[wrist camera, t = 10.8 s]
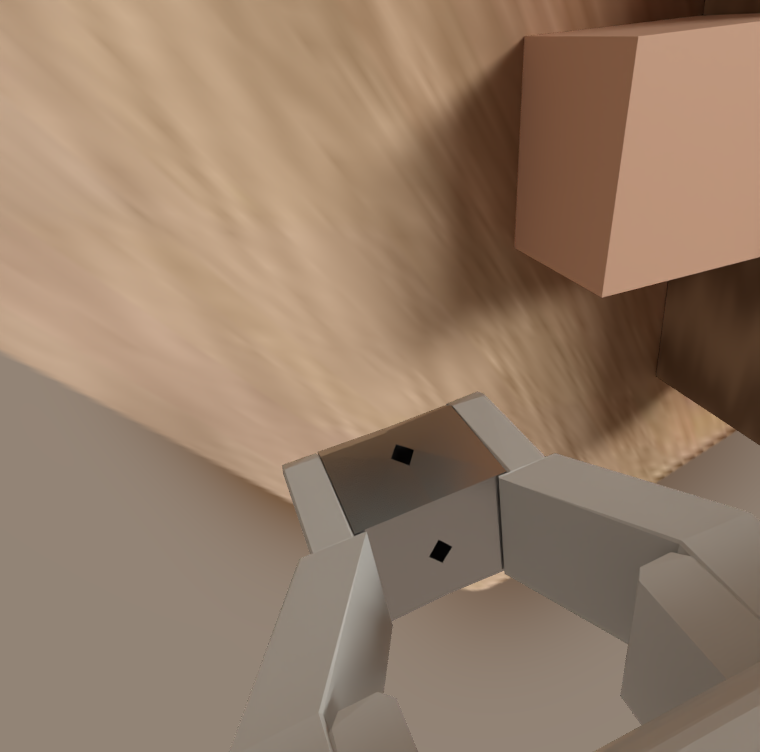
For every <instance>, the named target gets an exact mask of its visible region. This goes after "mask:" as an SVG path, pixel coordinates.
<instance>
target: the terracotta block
mask: <svg viewBox="0 0 760 752" xmlns="http://www.w3.org/2000/svg"><path fill="white" fill-rule="evenodd" d="M514 248H515V249H517V250H519V251H521V252H523V253H524V254H526V255H528V256H530V257H531V258H533V259H535V260H537V261H538V262H540V263H542V264H544V265H545V266H547V267H549V268H551V269H552V270H554V271H556V272H558V273H559V274H561V275H563V276H565V277H566V278H568V279H570V280H572V281H573V282H575V283H577V284H579V285H580V286H582V287H584V288H586V289H587V290H589V291H591V292H593V293H594V294H596V295H598V296H600V297H601V298H602V297H606V296H610V295H614V294H618V293H622V292H626V291H630V290H634V289H637V288H641V287H645V286H649V285H653V284H657V283H661V282H665V281H669V280H672V279H676V278H680V277H684V276H688V275H692V274H696V273H700V272H703V271H707V270H711V269H715V268H719V267H723V266H727V265H731V264H735V263H738V262H742V261H746V260H750V259H754V258H758V257H760V13H753V14H725V15H700V16H691V17H683V18H674V19H666V20H658V21H649V22H641V23H632V24H624V25H615V26H607V27H599V28H590V29H582V30H573V31H565V32H556V33H548V34H540V35H531V36H525V37H524V58H523V79H522V100H521V120H520V141H519V162H518V183H517V204H516V225H515V246H514Z"/></svg>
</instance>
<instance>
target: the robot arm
mask: <svg viewBox="0 0 760 752" xmlns="http://www.w3.org/2000/svg"><path fill="white" fill-rule="evenodd" d="M282 469H283V474H284V477H285V480H286V483H287V486H288V489H289V492H290V495H291V498H292V501H293V504H294V507H295V510H296V513H297V516H298V519H299V522H300V525H301V528H302V531H303V534H304V537H305V540H306V543H307V546H308V549H309V552H310V555H308V556H306V557H303V558H301V559H299V561H298V564H297V567H296V569H295V572H294V575H293V578H292V580H291V583H290V586H289V589H288V591H287V594H286V597H285V600H284V602H283V605H282V608H281V611H280V613H279V616H278V619H277V622H276V624H275V627H274V630H273V633H272V635H271V638H270V641H269V643H268V646H267V649H266V652H265V654H264V657H263V660H262V663H261V665H260V668H259V671H258V674H257V677H256V679H255V682H254V685H253V688H252V690H251V693H250V696H249V698H248V701H247V704H246V707H245V710H244V712H243V715H242V718H241V720H240V724H239V726H238V729H237V732H236V734H235V737H234V740H233V742H232V745H231V748H230V751H229V752H418V751H417V748H416V745H415V743H414V741H413V738H412V736H411V733H410V731H409V728H408V726H407V723H406V721H405V718H404V716H403V713H402V711H401V708H400V706H399V703H398V701H397V698H395V697H392V696H389V695H385V694H384V686H385V679H386V671H387V664H388V656H389V649H390V641H391V634H392V626H393V625H392V621H393V620H395V619H397V618H399V617H401V616H404V615H406V614H408V613H410V612H411V611H414V610H416V609H418V608H420V607H422V606H424V605H426V604H428V603H430V602H432V601H434V600H436V599H439V598H441V597H443V596H445V595H447V594H449V593H451V592H454V591H456V590H459V589H461V588H463V587H466V586H468V585H471V584H473V583H475V582H478V581H480V580H483V579H485V578H487V577H490V576H492V575H494V574H497V573H499V572H502V571H504V572H505V574H506V575H508V576H510V577H511V578H513V579H515V580H517V581H519V582H520V583H522V584H524V585H525V586H527V587H529V588H531V589H533V590H534V591H536V592H538V593H539V594H541V595H543V596H545V597H547V598H548V599H550V600H552V601H554V602H555V603H557V604H559V605H560V606H562V607H564V608H566V609H568V610H569V611H571V612H573V613H574V614H576V615H578V616H580V617H581V618H583V619H585V620H587V621H588V622H590V623H592V624H593V625H595V626H597V627H599V628H601V629H602V630H604V631H606V632H607V633H609V634H611V635H613V636H615V637H616V638H618V639H620V640H621V641H623V642H625V643H627V644H628V649H627V655H626V663H625V669H624V675H623V682H622V689H621V695H620V696H621V697H622V699H623V700H624V701H625V703H626V704H627V706H628V707H629V708H630V710H631V711H632V713H633V714H634V715H635V717H636V718H637V720H638V721H639V722H640V724H641V725H642V726H640V727H638V728H636V729H634V730H632V731H631V732H629V733H627V734H625V735H623V736H622V737H620V738H618V739H616V740H614V741H612V742H610V743H608V744H607V745H605V746H603V747H601V748H599V749H598V750H596V751H594V752H760V520H759V519H757V518H756V517H755V516H754V515H752V514H751V513H750V512H747V511H744V510H740V509H737V508H734V507H731V506H727V505H724V504H721V503H718V502H714V501H711V500H708V499H704V498H701V497H698V496H695V495H691V494H688V493H684V492H681V491H678V490H675V489H671V488H668V487H665V486H662V485H658V484H655V483H652V482H648V481H645V480H642V479H639V478H635V477H632V476H629V475H625V474H622V473H619V472H616V471H612V470H609V469H606V468H602V467H599V466H596V465H592V464H589V463H586V462H583V461H579V460H576V459H573V458H569V457H566V456H563V455H559V454H556V453H554V454H552V455H549V456H547V457H545V456H544V455H543V454H542V453H541V452H540V451H539V450H538V449H537V448H536V447H535V446H534V445H533V444H532V443H531V442H530V441H529V440H528V438H527V437H526V436H525V435H524V434H523V433H522V432H521V431H520V430H519V429H518V428H517V427H516V426H515V425H514V424H513V423H512V422H511V421H510V420H509V419H508V418H507V417H506V416H505V415H504V414H503V413H502V412H501V411H500V410H499V409H498V408H497V407H496V406H495V405H494V404H493V403H492V402H491V401H490V400H489V399H488V398H487V396H486V395H485V394H483V393H480V392H475V393H472V394H470V395H467V396H465V397H462V398H460V399H457V400H455V401H452V402H450V403H447V404H446V405H445V406H442V407H439V408H436V409H434V410H431V411H429V412H426V413H423V414H421V415H418V416H416V417H413V418H410V419H408V420H405V421H403V422H400V423H397V424H395V425H392V426H390V427H387V428H384V429H381V430H379V431H376V432H373V433H370V434H367V435H364V436H362V437H359V438H356V439H353V440H350V441H347V442H344V443H342V444H339V445H336V446H333V447H330V448H327V449H325V450H322V451H319V452H318V455H317V454H316V453H315V454H312V455H309V456H307V457H304V458H301V459H298V460H295V461H292V462H290V463H287V464H284V465H282Z"/></svg>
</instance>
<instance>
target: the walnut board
mask: <svg viewBox="0 0 760 752" xmlns="http://www.w3.org/2000/svg"><path fill="white" fill-rule="evenodd" d="M753 13H760V0H705V5H704V12H703V15H725V14H753ZM656 377H658V378H659V379H661V380H662V381H664V382H665V383H667V384H668V385H670V386H671V387H673V388H674V389H676V390H677V391H679V392H680V393H682V394H683V395H685V396H686V397H688V398H689V399H691V400H692V401H694V402H695V403H697V404H698V405H700V406H701V407H703V408H704V409H706V410H707V411H709V412H710V413H712V414H713V415H715V416H716V417H718V418H719V419H721V420H722V421H724V422H725V423H727V424H728V425H730V426H731V427H733V428H734V429H736V430H737V431H739V432H741V433H742V434H744V435H745V436H746V437H748V438H749V439H751V440H753V441H754V442H756V443H757V444H758V445H760V257H758V258H754V259H750V260H746V261H742V262H738V263H735V264H731V265H727V266H723V267H719V268H715V269H711V270H707V271H703V272H700V273H696V274H692V275H688V276H684V277H680V278H676V279H672V280H669V281H668V288H667V296H666V303H665V311H664V319H663V326H662V334H661V342H660V349H659V357H658V364H657V372H656Z"/></svg>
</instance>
